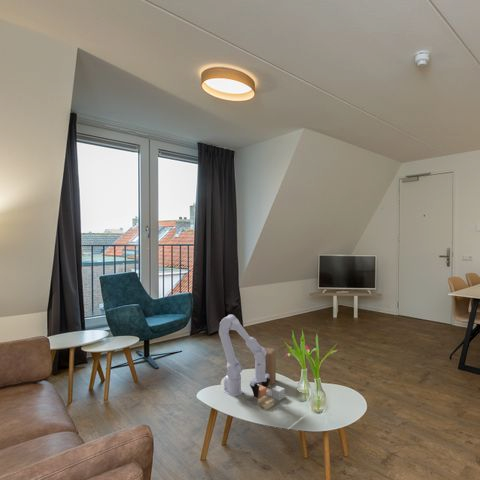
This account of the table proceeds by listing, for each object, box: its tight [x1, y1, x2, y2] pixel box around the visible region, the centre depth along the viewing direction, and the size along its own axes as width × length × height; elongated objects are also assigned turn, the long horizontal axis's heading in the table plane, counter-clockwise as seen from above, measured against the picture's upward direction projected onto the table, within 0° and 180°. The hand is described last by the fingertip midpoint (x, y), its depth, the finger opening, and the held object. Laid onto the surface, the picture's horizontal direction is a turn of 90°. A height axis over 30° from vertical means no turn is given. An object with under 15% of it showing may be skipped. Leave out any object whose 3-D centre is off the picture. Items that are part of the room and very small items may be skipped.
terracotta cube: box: [257, 384, 266, 399], centre depth 180 cm, size 5×5×5 cm
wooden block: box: [257, 346, 277, 387], centre depth 198 cm, size 10×10×20 cm
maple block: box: [258, 396, 274, 410], centre depth 171 cm, size 6×6×3 cm
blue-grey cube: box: [271, 385, 285, 400], centre depth 179 cm, size 5×5×5 cm
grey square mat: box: [245, 388, 289, 412], centre depth 177 cm, size 16×18×1 cm
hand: (260, 394), depth 180 cm, fingers open, 7 cm apart
